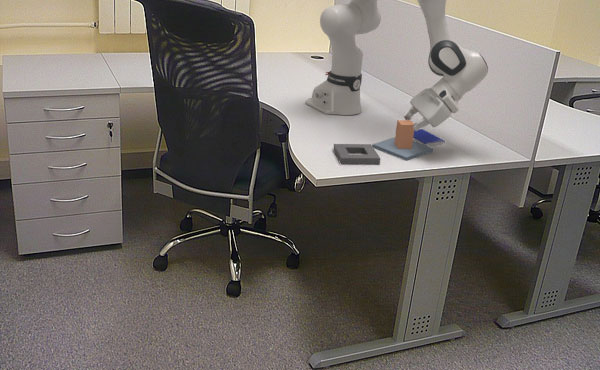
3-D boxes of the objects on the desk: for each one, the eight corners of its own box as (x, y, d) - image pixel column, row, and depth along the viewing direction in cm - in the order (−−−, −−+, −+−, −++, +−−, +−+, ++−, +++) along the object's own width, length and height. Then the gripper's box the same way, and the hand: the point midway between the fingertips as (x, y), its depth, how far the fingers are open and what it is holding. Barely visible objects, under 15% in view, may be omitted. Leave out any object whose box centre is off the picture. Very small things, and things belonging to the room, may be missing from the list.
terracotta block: (398, 148, 208) (401, 124, 204) (394, 143, 212) (397, 120, 208) (411, 148, 208) (415, 124, 205) (407, 143, 212) (410, 120, 209)
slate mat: (372, 146, 210) (372, 144, 210) (399, 138, 219) (399, 135, 219) (406, 160, 201) (406, 157, 201) (433, 151, 210) (433, 148, 210)
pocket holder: (340, 164, 195) (341, 158, 194) (333, 149, 206) (333, 143, 205) (379, 164, 197) (380, 158, 196) (370, 150, 208) (370, 144, 207)
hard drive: (445, 140, 218) (423, 128, 228) (425, 142, 214) (404, 130, 224) (445, 144, 218) (422, 132, 228) (425, 147, 215) (403, 135, 225)
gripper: (427, 79, 213) (394, 107, 215) (449, 97, 194) (413, 128, 197) (438, 92, 215) (406, 120, 218) (460, 112, 197) (425, 142, 199)
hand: (409, 124), depth 207 cm, fingers open, 8 cm apart
